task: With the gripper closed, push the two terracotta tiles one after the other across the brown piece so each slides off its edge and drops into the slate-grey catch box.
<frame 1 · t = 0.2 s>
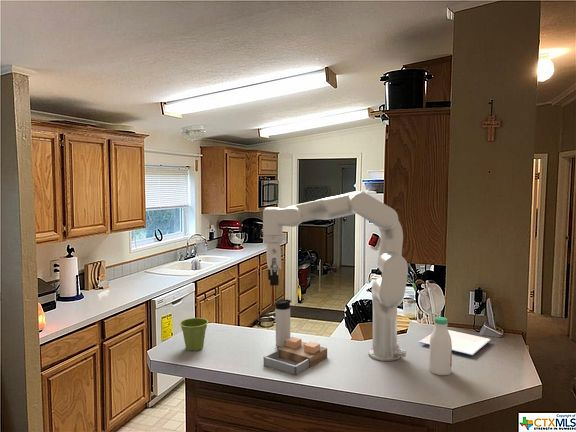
hand: (273, 282, 175), 31 cm above the counter, tool pointing down, fingers open, 9 cm apart
catch box: (286, 366, 168), on the counter
tile near: (312, 350, 174), point 4 cm above the counter, touching brown piece
travel mug: (283, 346, 190), on the counter
plate: (455, 345, 190), on the counter
milk bottle: (440, 372, 163), on the counter
tile far: (293, 345, 179), point 4 cm above the counter, touching brown piece
brown piece: (302, 358, 177), on the counter
plant pot: (194, 348, 188), on the counter
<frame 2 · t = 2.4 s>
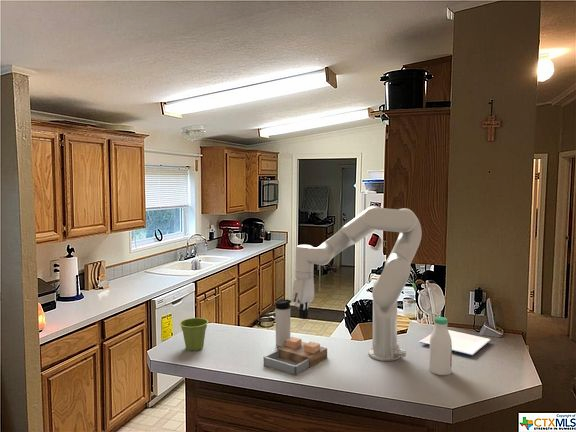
hand: (303, 318, 185), 13 cm above the counter, tool pointing down, fingers closed
nothing on the counter moved.
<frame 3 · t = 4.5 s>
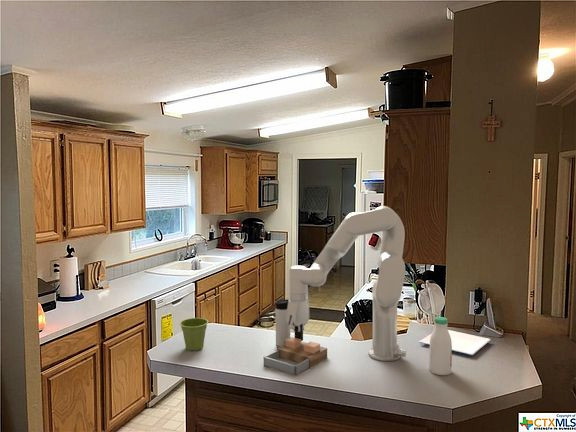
hand: (298, 340, 182), 5 cm above the counter, tool pointing down, fingers closed
tile far: (293, 345, 179), point 4 cm above the counter, touching gripper
everything else where it was.
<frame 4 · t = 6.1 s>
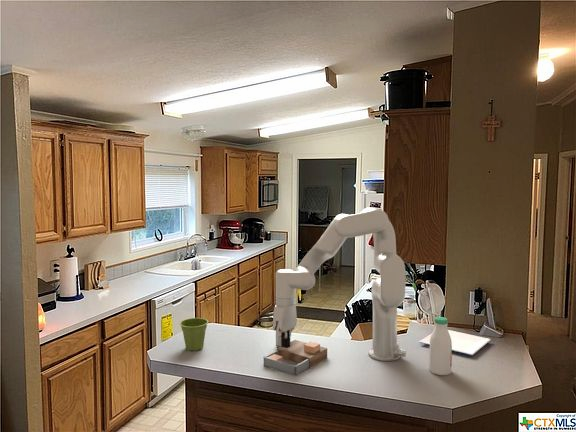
hand: (285, 346, 175), 5 cm above the counter, tool pointing down, fingers closed
tile far: (274, 357, 170), point 3 cm above the counter, tilted 180°, touching catch box
everything else where it was.
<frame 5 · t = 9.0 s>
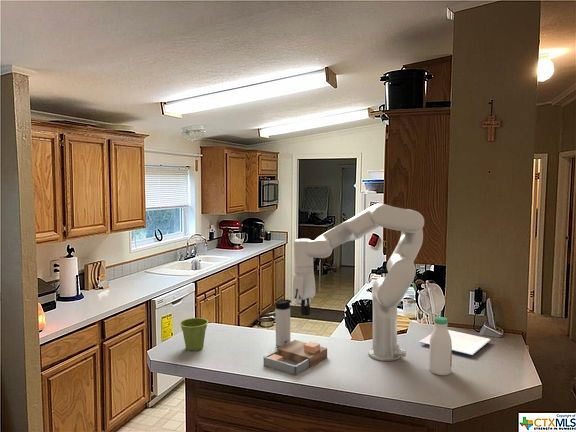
hand: (305, 314, 179), 16 cm above the counter, tool pointing down, fingers closed
nothing on the counter moved.
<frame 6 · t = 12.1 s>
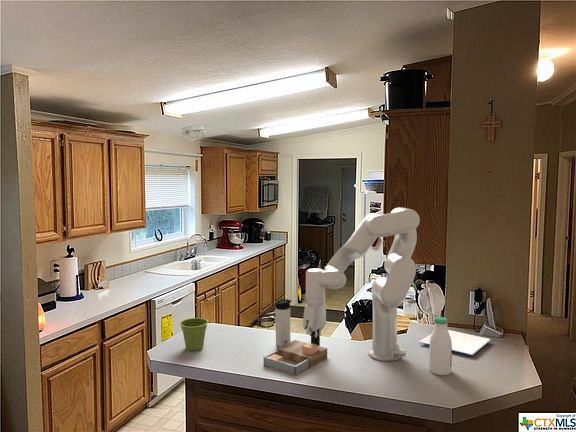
hand: (315, 345, 176), 5 cm above the counter, tool pointing down, fingers closed
tile near: (310, 351, 173), point 4 cm above the counter, touching brown piece, gripper
everything else where it was.
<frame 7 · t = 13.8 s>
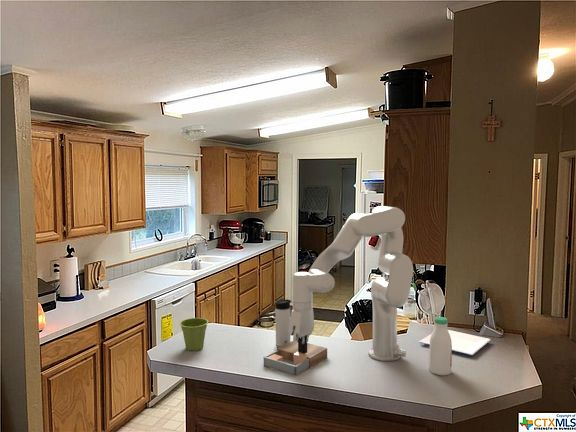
hand: (302, 352, 169), 5 cm above the counter, tool pointing down, fingers closed
tile near: (302, 358, 168), point 3 cm above the counter, tilted 95°, touching catch box, gripper
everything else where it was.
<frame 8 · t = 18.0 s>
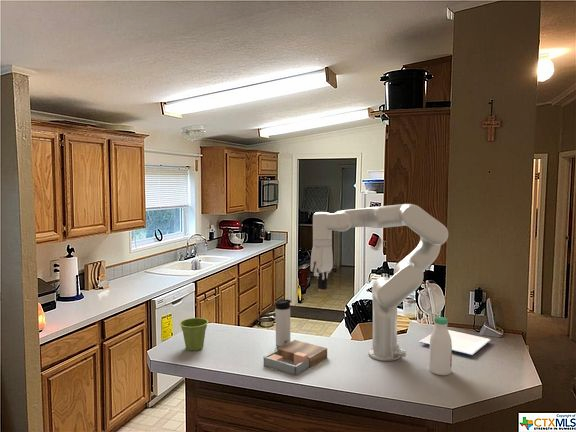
hand: (322, 288, 178), 27 cm above the counter, tool pointing down, fingers closed
tile near: (302, 358, 169), point 3 cm above the counter, tilted 90°, touching catch box
everything else where it was.
at the end: tile far inside the target area (4.6 cm from its centre), point 3.1 cm above the counter; tile near inside the target area (6.6 cm from its centre), point 2.8 cm above the counter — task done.
